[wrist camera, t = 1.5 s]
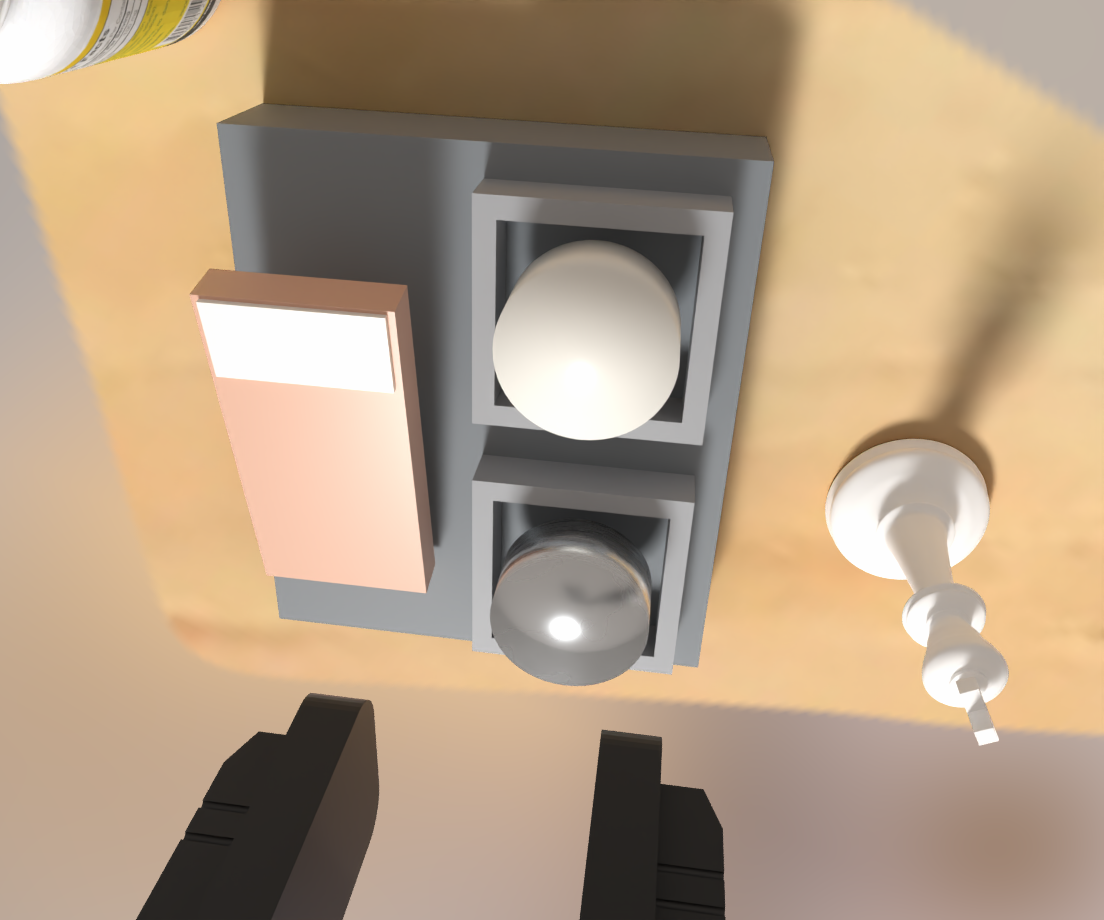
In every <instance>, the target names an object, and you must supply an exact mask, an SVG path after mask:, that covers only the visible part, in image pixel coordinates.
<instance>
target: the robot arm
mask: <svg viewBox="0 0 1104 920" xmlns="http://www.w3.org/2000/svg"><path fill="white" fill-rule="evenodd" d="M661 757H662V738H661V737H656V736H649V735H641V734H633V733H625V732H624V733H623V732H617V731H608V730H602V731H601V739H600V748H599V757H598V765H597V774H596V782H595V791H594V800H593V808H592V817H591V826H590V835H589V843H588V852H587V860H586V869H585V878H584V886H583V895H582V905H581V912H580V920H725V915H724V914H725V890H724V880H723V879H724V878H723V877H724V856H723V855H724V854H723V828H722V827H721V824H720V823H719V820H718V818H717V816H716V814H715V812H714V810H713V808H712V806H711V804H710V802H709V800H708V798H707V796H706V794H705V792H704V790H703V789H696V788H688V787H681V786H673V785H665V784H660V782H661V781H660V780H661ZM378 800H379V778H378V763H377V749H376V735H375V720H374V709H373V705H372V703H371V701H370V700H364V699H355V698H347V697H340V696H332V695H324V694H316V693H310V694H308V695H307V697H305V699H304V700H303V702H302V704H301V706H300V708H299V710H298V712H297V714H296V716H295V718H294V720H293V722H292V724H291V726H290V728H289V730H288V732H287V734H286V735H281V734H274V733H266V732H258V733H257V734H256V735H254V736H253V737H252V738H251V739H250V740H249V741H248V742H246V743H245V744H244V745H243V746H242V747H241V748H240V749H238V750H237V751H236V752H235V753H234V754H233V755H232V756H230V757H229V758H228V759H227V760H226V761H225V762H224V763H223V765H222V767H221V768H220V770H219V772H218V774H217V776H216V777H215V779H214V781H213V783H212V785H211V786H210V789H209V790H208V792H207V794H206V795H205V797H204V799H203V804H202V807H201V808H198V810H197V811H196V813H195V815H194V817H193V819H192V820H191V822H190V824H189V826H188V828H187V830H186V831H185V837H184V839H183V840H180V842H179V844H178V846H177V847H176V849H175V851H174V853H173V854H172V857H171V858H170V860H169V862H168V863H167V865H166V867H165V869H164V871H163V872H162V874H161V876H160V878H159V880H158V881H157V883H156V885H155V887H154V889H153V890H152V892H151V894H150V896H149V898H148V899H147V901H146V903H145V905H144V906H143V908H142V910H141V912H140V914H139V915H138V917H137V919H136V920H342V919H343V917H344V914H345V911H346V908H347V905H348V903H349V900H350V897H351V894H352V891H353V888H354V885H355V883H356V879H357V877H358V874H359V871H360V868H361V866H362V863H363V860H364V857H365V854H366V851H367V849H368V846H369V843H370V840H371V836H372V833H373V829H374V825H375V820H376V815H377V809H378Z"/></svg>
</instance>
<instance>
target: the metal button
mask: <svg viewBox="0 0 1104 920" xmlns="http://www.w3.org/2000/svg"><path fill="white" fill-rule="evenodd" d="M651 590H652V580H651V573H650V570H649V566H648V564H647V562H646V560H645V558H644V556H643V555H642V553H641V552H640V550H639V549H638V548H637V547H636V546H635V544H634V543H633V542H632V541H630V540H629V539H628V538H627V537H626V536H624V535H623V534H621V533H620V532H619V531H617V530H615V529H613V528H611V527H609V526H606V525H604V524H601V523H598V522H595V521H591V520H585V519H575V518H567V519H557V520H551V521H548V522H545V523H541V524H539V525H537V526H535V527H533V528H531V529H529V530H528V531H526V532H525V533H523V534H522V535H521V536H520V537H519V538H518V539H517V540H516V541H515V542H514V543H513V544H512V546H511V547H510V549H509V551H508V553H507V555H506V557H505V560H504V563H503V567H502V570H501V573H500V577H499V580H498V584H497V587H496V590H495V594H494V597H493V601H492V604H491V608H490V625H491V629H492V633H493V635H494V638H495V640H496V642H497V644H498V646H499V647H500V649H501V650H502V651H503V653H504V654H505V655H506V656H507V657H508V658H509V659H510V660H511V661H512V662H513V663H514V664H515V665H516V666H518V667H519V668H520V669H522V670H523V671H525V672H527V673H528V674H530V675H532V676H534V677H536V678H539V679H542V680H544V681H547V682H551V683H555V684H560V685H568V686H586V685H593V684H598V683H602V682H605V681H608V680H611V679H613V678H615V677H617V676H619V675H621V674H622V673H624V672H625V671H627V670H628V669H629V668H630V667H632V666H633V665H634V664H635V663H636V661H637V660H638V659H639V658H640V656H641V654H642V653H643V651H644V649H645V646H646V644H647V640H648V635H649V621H650V606H651Z"/></svg>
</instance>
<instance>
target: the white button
mask: <svg viewBox="0 0 1104 920" xmlns="http://www.w3.org/2000/svg"><path fill="white" fill-rule="evenodd" d="M680 340H681V316H680V309H679V305H678V301H677V298H676V296H675V293H674V291H673V289H672V287H671V285H670V284H669V282H668V280H667V279H666V277H665V276H664V275H663V273H662V272H661V271H660V270H659V269H658V268H657V267H656V266H655V265H654V264H653V263H652V262H651V261H650V260H648V259H647V258H646V257H644V256H643V255H641V254H640V253H638V252H636V251H634V250H633V249H630V248H628V247H625V246H623V245H620V244H617V243H613V242H608V241H601V240H582V241H574V242H570V243H566V244H563V245H560V246H558V247H555V248H553V249H551V250H549V251H547V252H546V253H544V254H542V255H541V256H540V257H538V258H537V259H536V260H534V261H533V262H532V263H531V264H530V265H529V266H528V267H527V268H526V269H525V271H524V272H523V273H522V275H521V276H520V277H519V279H518V281H517V283H516V284H515V286H514V288H513V290H512V292H511V294H510V296H509V298H508V300H507V303H506V305H505V307H504V309H503V311H502V313H501V315H500V317H499V320H498V322H497V325H496V328H495V333H494V337H493V362H494V367H495V372H496V375H497V378H498V380H499V383H500V385H501V387H502V389H503V391H504V393H505V394H506V396H507V397H508V399H509V400H510V402H511V403H512V404H513V405H514V406H515V408H516V409H517V410H518V411H519V412H520V413H521V414H523V415H524V416H525V417H526V418H527V419H528V420H530V421H531V422H533V423H534V424H535V425H537V426H539V427H541V428H543V429H544V430H546V431H549V432H551V433H554V434H556V435H559V436H563V437H567V438H572V439H578V440H601V439H608V438H613V437H616V436H620V435H623V434H626V433H628V432H630V431H632V430H634V429H636V428H638V427H639V426H641V425H643V424H644V423H646V422H647V421H648V420H649V419H651V418H652V417H653V416H654V415H655V414H656V413H657V412H658V411H659V410H660V409H661V408H662V406H663V405H664V404H665V402H666V401H667V399H668V398H669V396H670V394H671V392H672V390H673V388H674V385H675V382H676V379H677V376H678V371H679V365H680Z"/></svg>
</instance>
